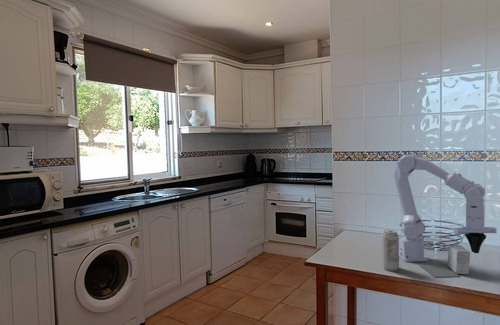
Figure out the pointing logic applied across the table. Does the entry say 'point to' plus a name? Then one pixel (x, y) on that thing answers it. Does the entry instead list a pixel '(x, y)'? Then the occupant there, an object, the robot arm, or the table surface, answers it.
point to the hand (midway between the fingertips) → (475, 252)
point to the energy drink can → (390, 250)
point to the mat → (439, 271)
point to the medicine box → (458, 259)
